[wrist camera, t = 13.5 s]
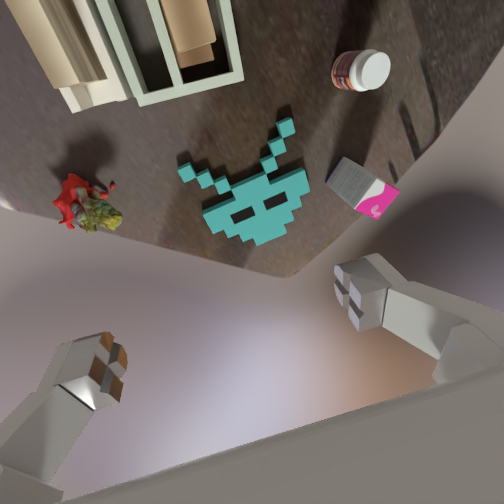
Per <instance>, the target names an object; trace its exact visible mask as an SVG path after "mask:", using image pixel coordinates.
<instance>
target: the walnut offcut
mask: <svg viewBox="0 0 504 504" xmlns="http://www.w3.org/2000/svg"><path fill="white" fill-rule="evenodd" d="M159 3H160V6H161V9H162V13H163V16H164V19H165V22H166V26H167V29H168V32H169V36H170V39H171V42H172V46H173V49H174V52H175V56H176V59H177V62H178V66H179V69H181V68H185V67H189V66H193V65H197V64H201V63H205V62H209V61H212V60H214V57H213V52H212V48H211V44H207V45H204V46H200V47H197V48H194V49H190V50H187V51H184V52H180V53H178V51H177V48H176V45H175V42H174V38H173V35H172V32H171V29H170V26H169V23H168V20H167V17H166V14H165V11H164V8H163V5H162V2H161V0H159Z"/></svg>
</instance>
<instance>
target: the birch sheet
mask: <svg viewBox="0 0 504 504" xmlns="http://www.w3.org/2000/svg"><path fill="white" fill-rule="evenodd" d="M5 2H6V3H7V5H8V7H9V9H10V11H11V12H12V14H13V16H14V18H15V20H16V21H17V23H18V25H19V27H20V28H21V30H22V32H23V34H24V36H25V37H26V39H27V41H28V43H29V45H30V46H31V48H32V50H33V52H34V54H35V55H36V57H37V59H38V61H39V63H40V64H41V66H42V68H43V70H44V71H45V73H46V75H47V77H48V79H49V80H50V82H51V84H52V86H53V88H54V89H57V88H64V87H71V86H77V85H84V84H91V83H95V82H99V81H103V80H107V79H108V78H107V76H106V74H105V72H104V69H103V67H102V65H101V63H100V60H99V58H98V56H97V54H96V51H95V49H94V47H93V45H92V42H91V40H90V38H89V36H88V33H87V31H86V29H85V27H84V24H83V22H82V20H81V18H80V15H79V13H78V11H77V9H76V6H75V4H74V2H73V0H5Z"/></svg>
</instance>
